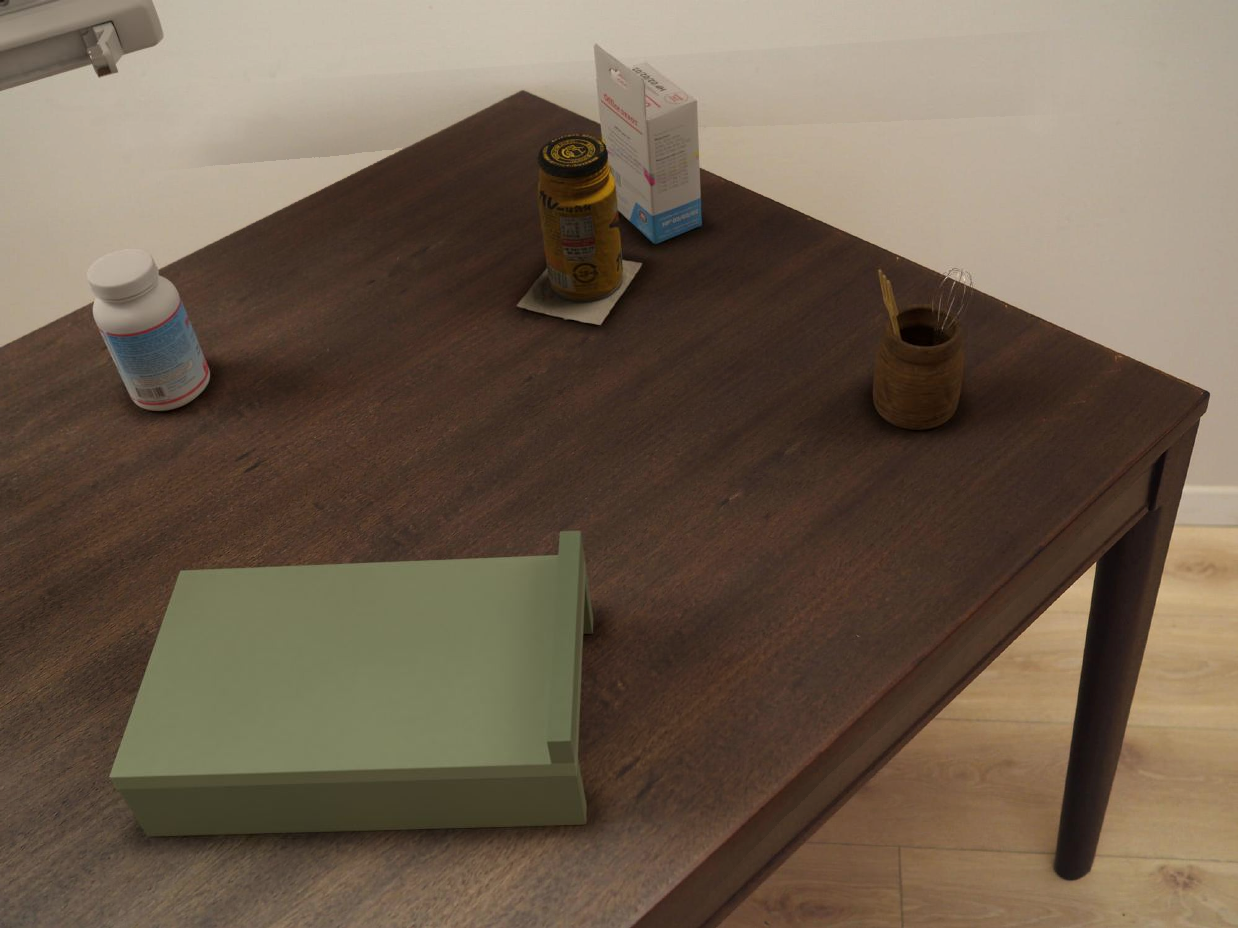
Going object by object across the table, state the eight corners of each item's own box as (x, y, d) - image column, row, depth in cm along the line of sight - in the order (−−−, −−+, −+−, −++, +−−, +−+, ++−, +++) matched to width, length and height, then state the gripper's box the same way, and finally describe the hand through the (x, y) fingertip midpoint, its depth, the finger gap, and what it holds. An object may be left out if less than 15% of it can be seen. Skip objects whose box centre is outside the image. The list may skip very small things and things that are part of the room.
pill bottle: (228, 376, 97) (182, 254, 90) (170, 423, 94) (116, 302, 86) (173, 353, 100) (123, 233, 92) (114, 399, 96) (57, 278, 89)
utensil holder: (973, 420, 88) (996, 279, 79) (889, 443, 87) (903, 302, 78) (934, 369, 92) (952, 229, 83) (853, 390, 91) (863, 250, 82)
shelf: (147, 836, 69) (94, 755, 64) (210, 632, 79) (168, 547, 74) (586, 825, 68) (570, 740, 62) (593, 618, 78) (580, 530, 72)
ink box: (705, 226, 107) (699, 63, 97) (654, 246, 105) (642, 83, 95) (654, 182, 112) (643, 23, 102) (605, 201, 111) (589, 41, 101)
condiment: (642, 265, 104) (632, 133, 95) (600, 327, 98) (585, 193, 90) (562, 250, 106) (545, 120, 98) (516, 309, 101) (495, 177, 92)
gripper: (-153, 14, 95) (-135, 88, 86) (119, -58, 101) (163, 3, 92) (-112, 92, 99) (-91, 169, 90) (146, 18, 105) (190, 84, 96)
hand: (39, 85), depth 91 cm, fingers open, 8 cm apart
